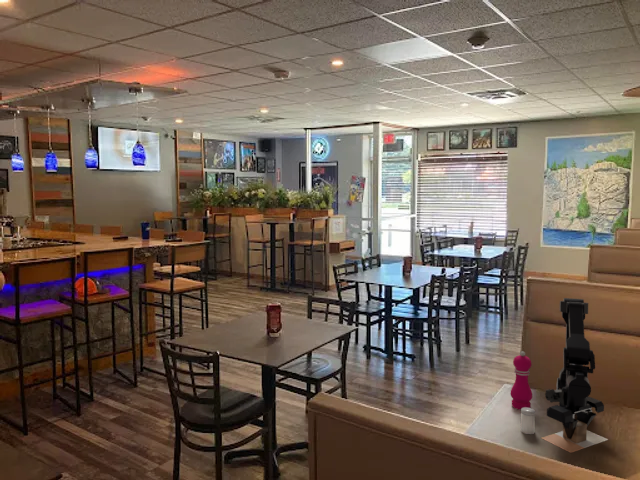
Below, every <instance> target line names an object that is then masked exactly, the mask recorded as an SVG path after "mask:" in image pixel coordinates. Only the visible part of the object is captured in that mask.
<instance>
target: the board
mask: <svg viewBox="0 0 640 480" xmlns="http://www.w3.org/2000/svg"><path fill="white" fill-rule="evenodd" d="M541 439H542V440H545V441H546V442H548V443H550V444H553V445H554V446H556V447H558V448H560V449H561V450H564V451H566V452H569V453H570V454H571V453H574V452H578V451H581V450H583V449H586V448H588V447H592V446H594V445H597V444H600V443H603V442H606V441H608V440H609V439H608V438H606V437H604V436H601V435H598V434H597V433H595V432H592V431H590V430H588V429H587V436H586V441H583V442H580V443H577V444H576V443H574V442H572V441H570V440H568V439H566V438H564V437H563V430H561V431H558V432H556V433H552V434H549V435H546V436H543V437H541Z"/></svg>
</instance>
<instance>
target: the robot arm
mask: <svg viewBox="0 0 640 480" xmlns="http://www.w3.org/2000/svg"><path fill="white" fill-rule="evenodd" d="M559 312H560V313H561V317H562V318H563V320H564V323H565V347H563V351H562V352H563V353H562V358H563V361H562V362H563V364H562V365H563V367H562V368H561V369H560V370H559V377H557V380H556V389H551V388H549V389H545V394H544V397H545V399H546V401H549V403H551V404H552V403H558V404H556V405H551V406H549V407H548V408H546V417H549V418H550V419H553V420H556V421H557V422H559V423H562V427H563V426H564V429H565V432H566V435H567V438H569V439H571V438H572V436H573V433H574V430H575V428H576V425H577V422H578V420H579V421H581V422H583V423H586V424H587V427H588V426H589V425H590V423H591V422H592V421H593V419H594V418H595V417H596V416H597V414H599V413H602V412H604V411H605V405H604V403H603V402H602V400H599V399H596V398H593V397H591V396H590V395H591V393H592V387H591V384H590V380H589V374H594V370H595V369H596V358H595V357H596V356H595V353H594V351H593V350H592V349H591V345H590V341H589V340H587V338H586V337H585V323H584V321H585V319H586V315H589V302H585V299H583V298H570V297H563V300H559ZM592 408H594V411H595V412H596V413H595V412H593V410H592ZM575 415H576V418H575Z"/></svg>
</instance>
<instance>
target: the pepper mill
mask: <svg viewBox="0 0 640 480" xmlns="http://www.w3.org/2000/svg"><path fill="white" fill-rule="evenodd" d="M512 360H513V361H512V364H513V366H514V374H515V380H514V383H513V385H512V387H511V389H510V397H511V399H512V400H511V407H513V408H514V409H515V410H520V411H521V408H524V407H527V408H531V407H532V406H531V405H532V403H531V402H530V401H532V399H533V392H532V389H531V387H530V384H529V375H530V374H531V373H530V369H531V368H532V361H531V359H530V357H529V356H527V355H526V352H525V351H523V350H522V351H520V353H519V355H516V356H515V357H514V358H513V359H512Z"/></svg>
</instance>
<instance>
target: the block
mask: <svg viewBox="0 0 640 480" xmlns="http://www.w3.org/2000/svg"><path fill="white" fill-rule="evenodd" d="M562 427H563V429H562V431H563V437H564V438H566V439H568V440H570V441H572V442H574V443H576V444H577V443H580V442H583V441H586V436H587V430H588V429H587V428H588V426H587V424H586V423H583V422H581V421H579V420H578V422H577V425H576V428H575V430H574V433H573V436H572V438H571V439H569V438H567V435H566V432H565V429H564V426H563V425H562Z"/></svg>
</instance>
